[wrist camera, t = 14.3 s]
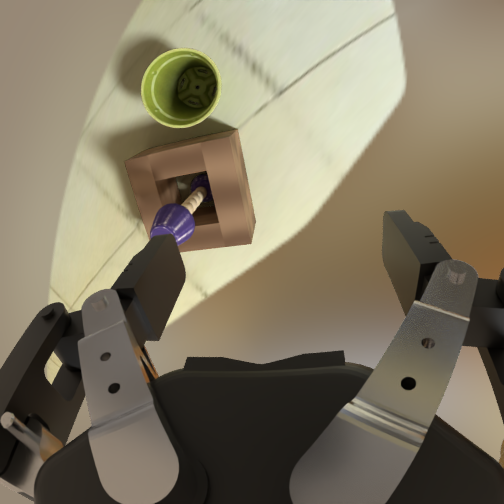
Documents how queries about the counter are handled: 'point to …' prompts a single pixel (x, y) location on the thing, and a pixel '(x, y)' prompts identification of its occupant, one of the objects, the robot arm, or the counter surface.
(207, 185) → the toy lamp
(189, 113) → the plant pot
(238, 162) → the socket block
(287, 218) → the counter surface
